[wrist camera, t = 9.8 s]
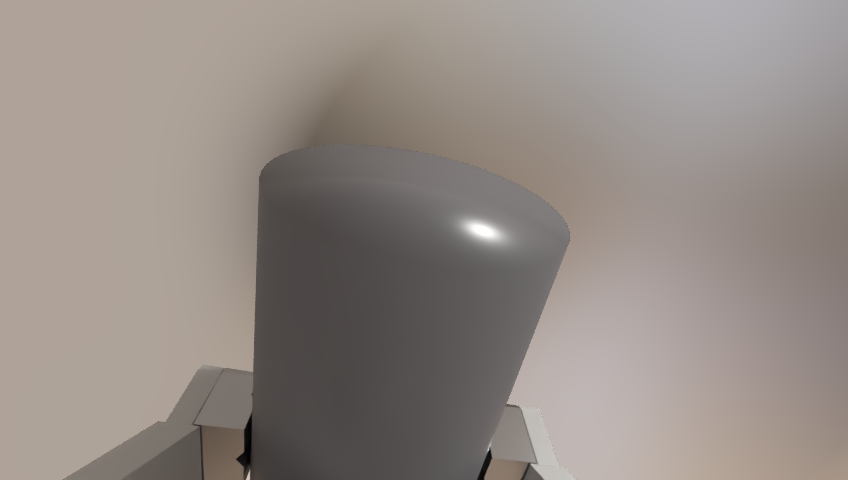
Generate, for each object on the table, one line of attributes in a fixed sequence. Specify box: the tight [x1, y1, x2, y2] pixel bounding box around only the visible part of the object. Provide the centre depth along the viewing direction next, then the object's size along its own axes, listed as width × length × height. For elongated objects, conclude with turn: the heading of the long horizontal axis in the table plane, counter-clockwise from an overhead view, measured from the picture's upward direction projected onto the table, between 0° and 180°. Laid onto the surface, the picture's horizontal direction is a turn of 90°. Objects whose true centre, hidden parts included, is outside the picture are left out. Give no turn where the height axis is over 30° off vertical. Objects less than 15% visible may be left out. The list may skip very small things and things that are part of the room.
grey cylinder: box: [250, 144, 570, 480], centre depth 10 cm, size 5×5×14 cm
